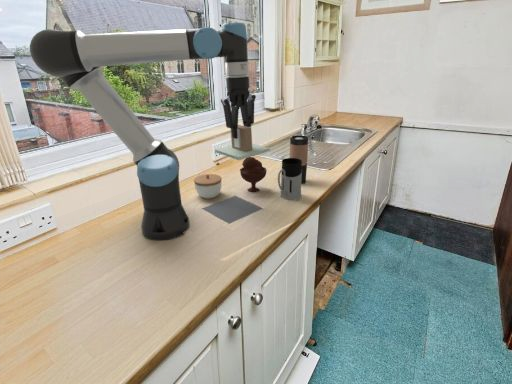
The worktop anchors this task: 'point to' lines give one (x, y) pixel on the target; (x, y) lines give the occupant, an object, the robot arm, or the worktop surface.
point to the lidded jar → (208, 185)
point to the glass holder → (290, 179)
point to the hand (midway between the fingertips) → (241, 145)
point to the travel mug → (300, 152)
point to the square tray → (232, 209)
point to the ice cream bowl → (252, 172)
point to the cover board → (241, 153)
